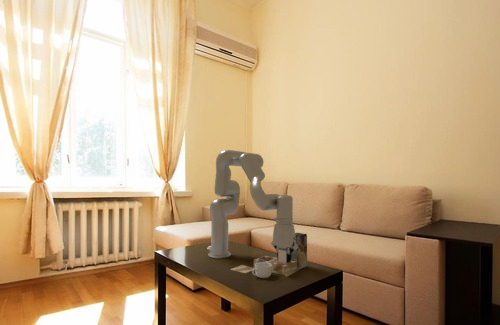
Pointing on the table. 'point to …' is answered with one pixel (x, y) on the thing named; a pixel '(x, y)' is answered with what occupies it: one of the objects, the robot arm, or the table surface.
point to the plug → (282, 255)
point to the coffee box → (300, 250)
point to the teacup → (263, 269)
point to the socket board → (278, 265)
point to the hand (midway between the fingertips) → (284, 260)
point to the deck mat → (243, 269)
